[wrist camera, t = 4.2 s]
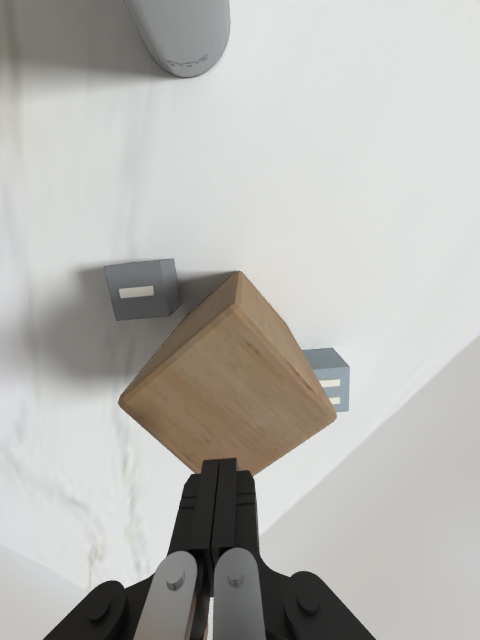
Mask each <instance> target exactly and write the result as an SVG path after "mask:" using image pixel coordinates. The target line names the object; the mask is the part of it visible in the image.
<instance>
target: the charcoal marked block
mask: <svg viewBox="0 0 480 640" xmlns="http://www.w3.org/2000/svg"><path fill="white" fill-rule="evenodd" d="M104 270H105V274H106V278H107V283H108V287H109V291H110V296H111V300H112V304H113V309H114V313H115V317H116V321H119V320H130V319H142V318H153V317H164V316H170V315H171V314H172V313H173V312H174V311H175V310H176V309H177V308H178V307H179V306H180V305H181V300H180V294H179V287H178V281H177V275H176V268H175V262H174V259H165V260H154V261H144V262H133V263H124V264H117V265H110V266H104Z"/></svg>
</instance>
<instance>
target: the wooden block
mask: <svg viewBox="0 0 480 640" xmlns="http://www.w3.org/2000/svg"><path fill="white" fill-rule="evenodd" d="M118 404H119V406H120V407H121V408H122V409H123V410H124V411H125V412H126V413H127V414H128V415H130V416H131V417H132V418H133V419H134V420H135V421H136V422H138V423H139V424H140V425H141V426H142V427H143V428H144V429H145V430H147V431H148V432H149V433H150V434H151V435H152V436H153V437H154V438H156V439H157V440H158V441H159V442H160V443H161V444H162V445H164V446H165V447H166V448H167V449H168V450H169V451H170V452H171V453H173V454H174V455H175V456H176V457H177V458H178V459H179V460H180V461H182V462H183V463H184V464H185V465H186V466H187V467H188V468H189V469H191V470H192V471H193V472H194V473H195V474H200V473H201V469H202V463H203V460H209V459H220V460H221V459H222V458H236V457H237V461H238V469H239V471H242V470H249V471H250V473H251V475H252V477H253V476H254V475H256V474H257V473H259V472H260V471H262V470H263V469H265V468H266V467H267V466H269V465H270V464H272V463H273V462H275V461H276V460H278V459H279V458H281V457H282V456H284V455H285V454H287V453H288V452H290V451H291V450H293V449H294V448H296V447H297V446H298V445H300V444H301V443H303V442H304V441H306V440H307V439H309V438H310V437H312V436H313V435H315V434H316V433H318V432H319V431H321V430H322V429H324V428H325V427H326V426H328V425H329V424H331V423H332V422H334V421H335V419H336V418H337V414H336V411H335V408H334V407H333V405H332V403H331V401H330V400H329V398H328V396H327V394H326V393H325V391H324V389H323V387H322V386H321V384H320V382H319V380H318V379H317V377H316V375H315V373H314V372H313V370H312V368H311V366H310V365H309V363H308V361H307V359H306V358H305V356H304V354H303V352H302V350H301V349H300V347H299V345H298V343H297V342H296V340H295V338H294V336H293V335H292V333H291V331H290V329H289V328H288V326H287V324H286V323H285V322H284V320H283V319H282V318H281V317H280V316H279V315H278V313H277V312H276V311H275V310H274V309H273V308H272V306H271V305H270V304H269V303H268V302H267V301H266V299H265V298H264V297H263V296H262V295H261V294H260V292H259V291H258V290H257V289H256V288H255V287H254V285H253V284H252V283H251V282H250V281H249V280H248V278H247V277H246V276H245V275H244V274H243V272H241V271H236V272H235V273H234V274H233V275H232V276H231V277H230V278H229V279H227V280H226V281H225V282H224V283H223V284H222V285H221V286H219V287H218V288H217V289H216V290H215V291H214V292H213V293H212V294H210V295H209V296H208V297H207V298H206V299H205V300H204V301H202V302H201V303H200V304H199V305H198V306H197V307H196V308H195V309H193V310H192V311H191V312H190V313H189V314H188V315H187V316H185V318H184V319H183V320H182V321H181V323H180V324H179V325H178V326H177V327H176V329H175V330H174V331H173V332H172V333H171V335H170V336H169V337H168V338H167V340H166V341H165V342H164V343H163V344H162V346H161V347H160V348H159V349H158V351H157V352H156V353H155V354H154V355H153V357H152V358H151V359H150V360H149V362H148V363H147V364H146V365H145V366H144V368H143V369H142V370H141V371H140V372H139V374H138V375H137V376H136V377H135V379H134V380H133V381H132V382H131V383H130V385H129V386H128V387H127V388H126V390H125V391H124V392H123V393H122V394H121V396H120V398H119V401H118Z"/></svg>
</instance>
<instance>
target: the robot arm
mask: <svg viewBox="0 0 480 640" xmlns="http://www.w3.org/2000/svg"><path fill="white" fill-rule="evenodd" d="M124 2H125V4H126V6H127V8H128V10H129V12H130V14H131V17H132V19H133V21H134V23H135V25H136V27H137V29H138V31H139V33H140V35H141V37H142V39H143V41H144V43H145V45H146V47H147V49H148V51H149V53H150V55H151V56H152V57H153V59H154V60H155V61H156V63H157V64H158V65H160V66H161V67H162V68H163V69H164V70H166V71H168V72H170V73H171V74H173V75H177V76H181V77H193V76H197V75H201V74H203V73H204V72H206V71H208V70H209V69H210V68H212V67H213V66H214V65H215V64H216V63H217V61H218V60H219V59H220V57H221V56H222V54H223V52H224V49H225V47H226V45H227V41H228V37H229V31H230V9H229V0H124ZM210 597H214V606H213V607H214V608H213V609H214V610H213V640H376V639H375V638H374V637H373V636H372V635H371V633H370V632H369V631H368V630H367V629H366V628H365V627H364V626H363V625H362V624H361V622H360V621H359V620H358V619H357V618H356V617H355V616H354V615H353V614H352V612H350V610H349V609H348V608H347V607H346V606H345V605H344V604H343V603H342V601H341V600H340V599H339V598H338V597H337V596H336V595H335V594H334V593H333V591H332V590H331V589H330V588H329V587H328V586H327V585H326V584H325V583H324V582H323V581H322V580H321V579H320V578H319V577H318V576H317V575H315V574H313V573H311V572H307V571H301V572H297V573H295V574H293V575H292V576H291V577H288V576H285V575H282V574H280V573H277V572H275V571H273V570H271V569H270V568H269V567H268V566H267V565H266V564H265V563H264V562H263V560H262V559H261V557H260V552H259V534H258V516H257V502H256V492H255V482H254V479H253V477H252V475H251V473H250V471H249V470H242V471H239V469H238V461H237V457H236V458H222V459H221V460H220V459H209V460H203V463H202V469H201V473H200V474H191V476H190V477H189V479H188V480H187V482H186V483H185V485H184V489H183V493H182V497H181V501H180V505H179V510H178V513H177V517H176V522H175V526H174V530H173V534H172V538H171V542H170V546H169V550H168V554H167V556H166V558H165V559H164V560H163V561H162V562H161V563H160V565H159V566H158V568H157V570H156V572H155V573H154V574H153V575H151V576H150V577H149V578H147V579H145V580H143V581H141V582H139V583H136V584H134V585H132V586H130V587H128V588H125V589H124V587H123V585H122V584H121V583H120V582H118V581H107V582H104V583H102V584H100V585H98V586H97V587H96V588H94V589H93V590H92V591H91V592H90V593H89V594H88V595H87V596H86V597H85V598H84V599H83V600H82V601H81V602H80V603H79V604H78V605H77V606H76V607H75V608H74V609H73V610H72V611H71V612H70V613H69V614H68V615H67V616H66V617H65V618H64V619H63V620H62V621H61V622H60V623H59V624H58V625H57V626H56V627H55V628H54V629H53V630H52V631H51V632H50V633H49V634H48V635H47V636H46V637H45V638H44V639H43V640H207V634H208V613H209V601H210Z"/></svg>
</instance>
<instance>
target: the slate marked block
mask: <svg viewBox="0 0 480 640" xmlns="http://www.w3.org/2000/svg"><path fill="white" fill-rule="evenodd" d="M302 352H303V354H304V356H305V358H306V359H307V361H308V363H309V365H310V366H311V368H312V370H313V372H314V373H315V375H316V377H317V379H318V380H319V382H320V384H321V386H322V387H323V389H324V391H325V393H326V394H327V396H328V398H329V400H330V401H331V403H332V405H333V407H334V408H335V411H336V412H345V411H349V373H350V367H349V365H348V364H347V363H346V362H345V361H344V360H343V359H342V358H341V357H340V355H339V354H338V353H337V352H336V351H335V350H334V349H333V348H324V349H312V350H302Z"/></svg>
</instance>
